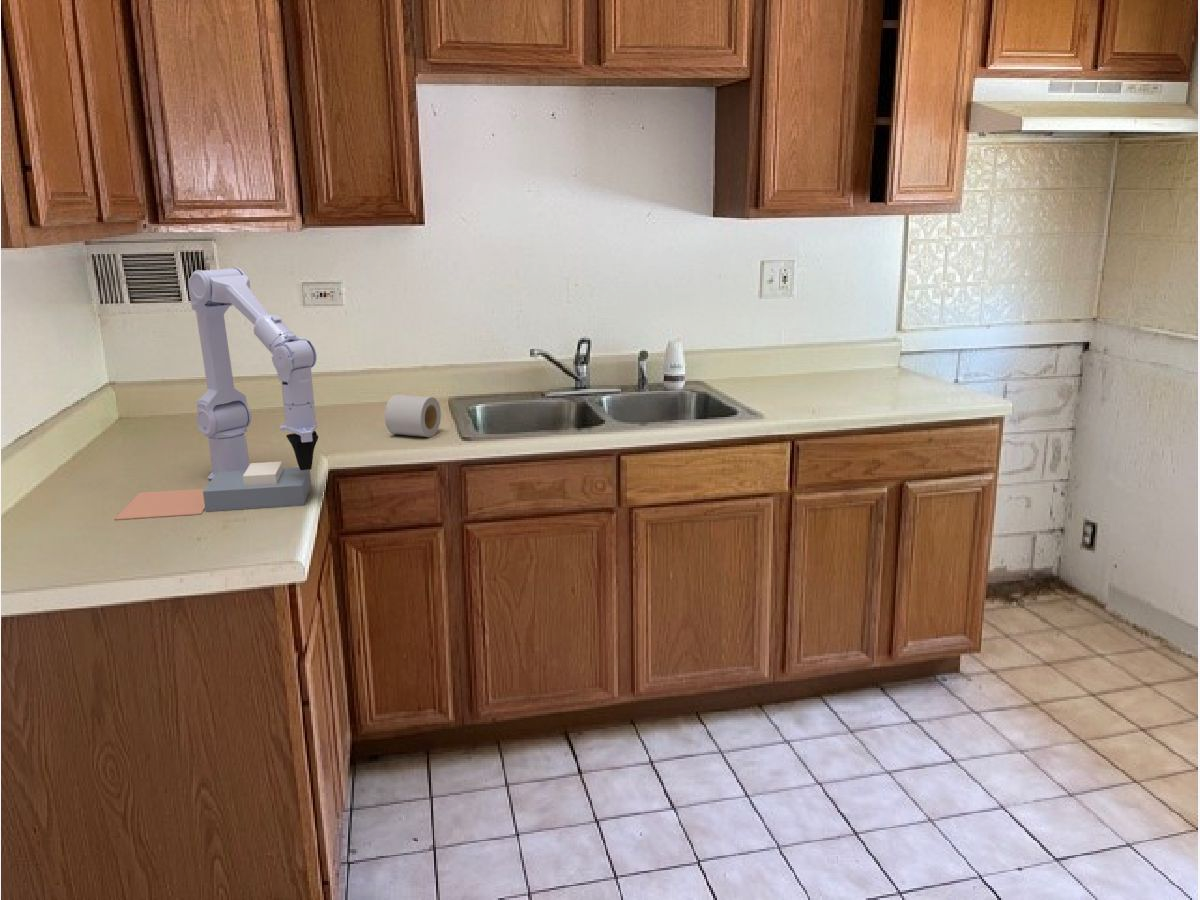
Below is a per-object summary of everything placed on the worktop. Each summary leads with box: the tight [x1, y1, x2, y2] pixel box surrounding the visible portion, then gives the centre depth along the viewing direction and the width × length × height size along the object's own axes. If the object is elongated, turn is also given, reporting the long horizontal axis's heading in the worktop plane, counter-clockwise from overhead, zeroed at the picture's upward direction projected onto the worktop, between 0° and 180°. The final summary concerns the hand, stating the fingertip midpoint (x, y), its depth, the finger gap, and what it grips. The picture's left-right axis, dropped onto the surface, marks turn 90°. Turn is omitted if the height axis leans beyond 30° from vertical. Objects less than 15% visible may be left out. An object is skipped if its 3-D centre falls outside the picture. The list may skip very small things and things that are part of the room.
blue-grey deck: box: [203, 466, 312, 513], centre depth 178 cm, size 13×18×4 cm
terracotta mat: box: [114, 488, 205, 521], centre depth 175 cm, size 16×15×1 cm
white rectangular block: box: [243, 461, 284, 486], centre depth 177 cm, size 9×6×2 cm, turn 11°
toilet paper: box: [384, 394, 442, 438], centre depth 225 cm, size 10×10×10 cm
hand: (305, 469), depth 179 cm, fingers closed
